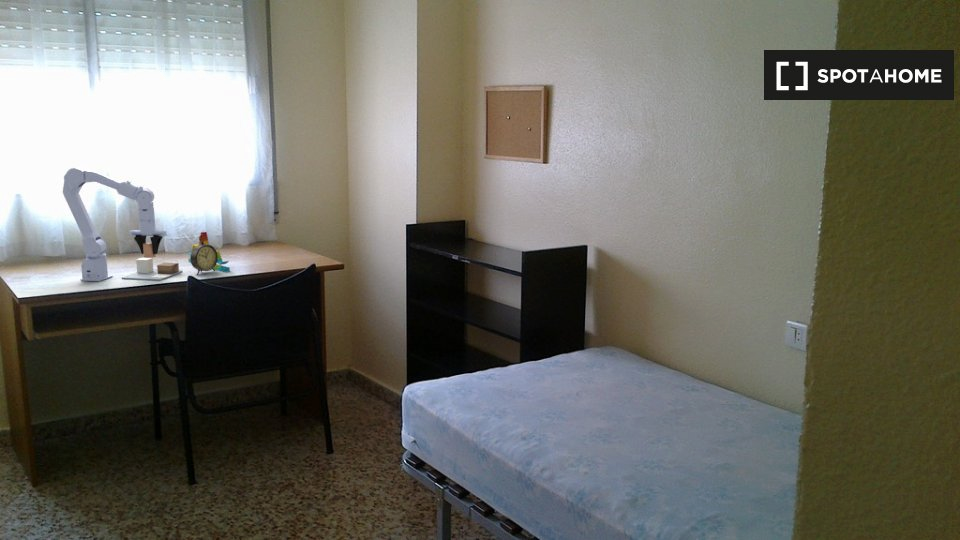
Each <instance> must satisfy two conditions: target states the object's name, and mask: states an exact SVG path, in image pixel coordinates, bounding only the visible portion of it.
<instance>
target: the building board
mask: <svg viewBox="0 0 960 540" xmlns="http://www.w3.org/2000/svg"><path fill="white" fill-rule="evenodd" d="M181 273H183V270H180V269H179V272H176V273H173V274H158V271H157V269H156V268H153V271H152V272H150V273H137V271H136V272H134V273H131V274H128V275H125V276H122V277H121V280H136V281H153V282H154V281H155V282H156V281H157V282H158V281H159V282H160V281H163V280H165V279H168V278H171V277H174V276H176V275H179V274H181Z"/></svg>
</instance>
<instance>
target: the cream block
mask: <svg viewBox="0 0 960 540" xmlns="http://www.w3.org/2000/svg"><path fill="white" fill-rule="evenodd" d="M153 258H154V257H153ZM153 258H144V257H139V258H137V259H136V260H135V261H136V262H135V263H136V272H137V273H150V272H152V271H153V269H154V261H153V260H154V259H153Z"/></svg>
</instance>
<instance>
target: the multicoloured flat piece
mask: <svg viewBox="0 0 960 540" xmlns="http://www.w3.org/2000/svg"><path fill="white" fill-rule="evenodd" d="M201 234H204V235H205V237H206V238H205V237H204V235H201ZM200 235H201V236H200ZM200 235H199V236H200V241H204V240H205V241H204V242H203V243H204V245H210V243H209V238H208V232H207V231H202V232H200ZM198 241H199V240H198ZM200 241H199V242H198V243H197V244H192V249H191V251H192V250H193V249H194V248H195V247H196V246H197V245H201V244H202V243H201V242H200ZM187 254H188V255H189V256H191V252H188V253H187ZM217 255H218V260H217V264H216V266H215V267H214V270H215V271H218V272H222V273H227V272H228V273H229V272H230V271H231V267H229V266H226V264H227V263H229V260H226V261H223V258H222V255H221V253H220V251H219V250H218V251H217ZM188 263H190V264H191V260H190V257H188ZM214 270H213V271H214Z"/></svg>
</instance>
